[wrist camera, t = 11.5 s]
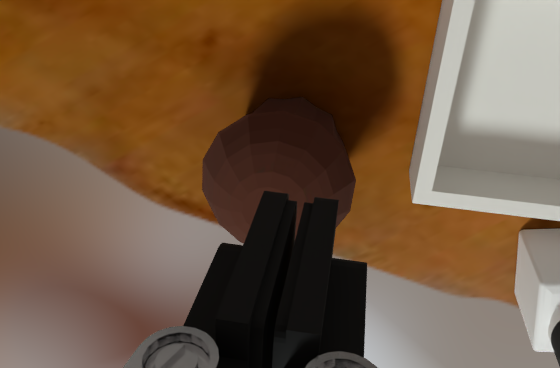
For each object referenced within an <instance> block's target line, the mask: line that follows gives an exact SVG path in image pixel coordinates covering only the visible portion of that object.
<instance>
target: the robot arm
mask: <svg viewBox="0 0 560 368" xmlns="http://www.w3.org/2000/svg"><path fill="white" fill-rule="evenodd" d="M338 204H339V200H335V199H327V198H319V197H315V198H314V202H313V203H308V202H304V206H303V210H302V214H301V218H300V222H299V226H298V230H297V235H296V239H295V230H296V216H297V201H292V200H289V194H287V193H279V192H271V191H264V192H263V195H262V197H261V200H260V203H259V205H258V208H257V210H256V213H255V216H254V218H253V221H252V224H251V226H250V229H249V231H248V234H247V237H246V239H245V242H244V244H243V246H241V245H235V244H228V243H222V244H220V246H219V248H218V250H217V252H216V254H215V257H214V259H213V261H212V263H211V265H210V268H209V270H208V272H207V274H206V277H205V279H204V281H203V283H202V285H201V288H200V290H199V292H198V294H197V297H196V299H195V301H194V303H193V306H192V308H191V310H190V312H189V315H188V317H187V319H186V321H185V323H184V326H177V327H169V328H166V329H163V330H160V331H158V332H156V333H154V334H152V335H151V336H149V337H148V338H146V340H144V341H143V343H142V344H141V345H140V346H139V347H138V348H137V349H136V351H135V352H134V353H133V355H132V356H131V358H130V359H129V360H128V362H127V363H126V364H125V366H124V367H123V368H377V367H376V366H375V365H374V364H372V363H371V362H370V361H368V360H367V359H365V358H364V335H365V308H366V281H367V280H366V279H367V263H365V262H358V261H350V260H343V259H336V258H332V254H333V246H334V237H335V229H336V221H337V212H338Z"/></svg>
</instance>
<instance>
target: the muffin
mask: <svg viewBox="0 0 560 368" xmlns="http://www.w3.org/2000/svg"><path fill="white" fill-rule="evenodd" d="M355 182H356V179H355V176H354V173H353V170H352V167H351V164H350V161H349V158H348V155H347V152H346V149H345V147H344V144H343V142H342V140H341V138H340V136H339V134H338V132H337V130H336V127H335V124H334V120H333V117H332V115H331V114H329V113H327V112H325V111H323V110H321V109H319V108H317V107H315V106H314V105H313V104H311V103H310V102H309V101H307V100H306V99H305V98H303V97H299V98H291V99H272V98H269V99H267V100H266V101H265V102H264V103H263V104H262V105H261V106H259V107H258V108H257V109H256V110H255V111H254V112H253V113H251V114H247V115H246V116H244V117H242V118H241V119H239V120H238V121H236V122H234V123H233V124H231V125H230V126H228V127H226V128H225V129H223V130H222V131H220V132H218V134H217V136H216V138H215V139H214V141H213V143H212V145H211V146H210V148H209V150H208V152H207V153H206V155H205V157H204V159H203V183H202V190H203V192H204V194H205V197H206V199H207V201H208V203H209V205H210V207H211V209H212V211H213V213H214V215H215V217H216V218H217V220H218V222H219V224H220V225H221V226H222V227H223V228H225V229H226V230H227V231H228V232H230V234H231V235H233V236H234V237H235V238H236V239H237V240H238V241H240V242H242V243H244V242H245V239H246V237H247V234H248V231H249V229H250V226H251V224H252V221H253V218H254V216H255V213H256V210H257V208H258V205H259V203H260V200H261V197H262V195H263V192H264V191H271V192H279V193H287V194H289V200H292V201H297V216H296V230H295V239H296V235H297V230H298V226H299V222H300V218H301V214H302V210H303V206H304V202H308V203H313V202H314V198H315V197H319V198H327V199H335V200H339V204H338V212H337V221H336V227H337V226H338V225H339V224H340V222H341V221H342V220H343V219H344V218H345V216H346V215H347V214H348V213H349V211H350V208H351V203H352V198H353V193H354V187H355Z"/></svg>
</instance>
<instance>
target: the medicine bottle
mask: <svg viewBox="0 0 560 368" xmlns="http://www.w3.org/2000/svg"><path fill="white" fill-rule="evenodd" d="M515 295H516V298H517V301H518V304H519V307H520V311H521V314H522V316H523V320H524V323H525V325H526V329H527V332H528V335H529V338H530V341H531V344H532V347H533V349H534V350H535V351H538V352H554V353H555V355H556V358H557V360H558V363H559V366H560V228H556V229H526V230H521V231H520V232H519V241H518V254H517V267H516V280H515Z"/></svg>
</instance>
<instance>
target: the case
mask: <svg viewBox="0 0 560 368" xmlns="http://www.w3.org/2000/svg"><path fill="white" fill-rule="evenodd" d="M409 175H410V185H411V195H412V203H417V204H425V205H433V206H441V207H449V208H457V209H465V210H474V211H482V212H490V213H498V214H506V215H514V216H522V217H530V218H538V219H547V220H555V221H560V0H442V5H441V10H440V15H439V20H438V25H437V30H436V35H435V40H434V46H433V51H432V56H431V61H430V66H429V71H428V76H427V82H426V87H425V92H424V97H423V102H422V107H421V112H420V117H419V123H418V128H417V133H416V138H415V143H414V148H413V153H412V159H411V164H410V169H409Z"/></svg>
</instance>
